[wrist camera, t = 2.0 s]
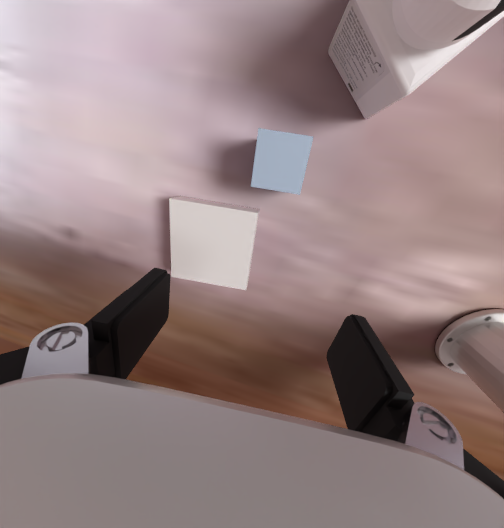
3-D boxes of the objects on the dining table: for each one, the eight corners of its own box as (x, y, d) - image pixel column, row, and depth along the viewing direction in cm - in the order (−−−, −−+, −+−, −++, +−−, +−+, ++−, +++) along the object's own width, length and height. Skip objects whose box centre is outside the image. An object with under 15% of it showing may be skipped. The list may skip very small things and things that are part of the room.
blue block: (304, 145, 23) (313, 136, 18) (294, 190, 26) (299, 194, 20) (262, 138, 24) (258, 128, 18) (255, 184, 26) (250, 186, 20)
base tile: (259, 209, 27) (258, 213, 24) (248, 280, 31) (246, 290, 29) (179, 195, 27) (169, 198, 24) (180, 267, 32) (171, 276, 29)
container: (404, -30, 17) (677, -461, 6) (440, 57, 19) (699, -125, 8) (325, 51, 20) (399, -124, 8) (364, 121, 22) (469, 60, 10)
